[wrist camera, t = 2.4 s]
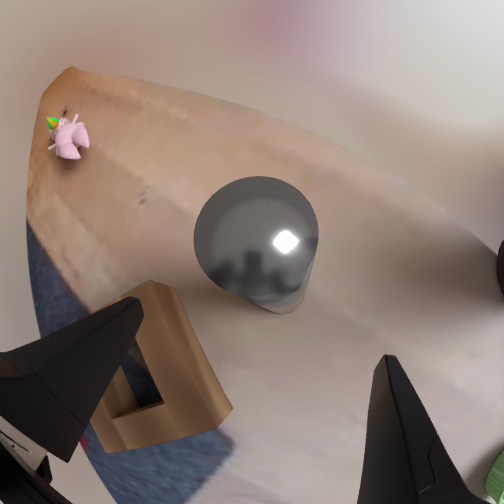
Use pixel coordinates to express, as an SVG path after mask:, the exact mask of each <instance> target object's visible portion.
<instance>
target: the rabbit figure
mask: <svg viewBox="0 0 504 504" xmlns="http://www.w3.org/2000/svg"><path fill="white" fill-rule="evenodd" d="M59 118H60V120H57V119H56V118H51V117H47V119H46V121H47V123H48V126H49V128H50V129H51V131H50V130H49V132H50V136H51V138H52V140H54V141H55V144H53V145H52V146H50V147H48V151H50V150H52V149H53V148H55V147H56V154H57V156H61V157H63V158H67V159H80V158H81V156H80V154H79V152H78V150H77V149H78V148H79V147H80V146H83V147H85V148H89V139H88V135H87V131H86V128H85V124H84V123H83V122H78V123H76V120H77V118H78V114H76V115H75V117H74V120H73V122H72V123H71V122H70V121H69V120H68V119H64V118H61V117H59Z"/></svg>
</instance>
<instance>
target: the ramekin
mask: <svg viewBox="0 0 504 504" xmlns="http://www.w3.org/2000/svg"><path fill="white" fill-rule="evenodd" d="M485 488H486V491H487V493H488V494H489V495H490V496H491V497H492V498H493V499H494V500H495V502H496V503H497V504H504V450H503V451H502V452H501V453H500V455H499V456H498V458H497V459H496V461H495V462H494V464H493V466H492V468H491V469H490V472H489V474H488V476H487V479H486V484H485Z"/></svg>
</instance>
